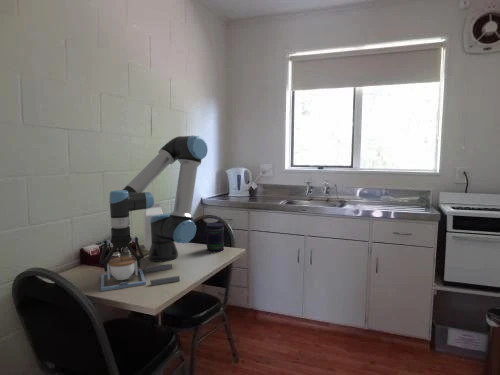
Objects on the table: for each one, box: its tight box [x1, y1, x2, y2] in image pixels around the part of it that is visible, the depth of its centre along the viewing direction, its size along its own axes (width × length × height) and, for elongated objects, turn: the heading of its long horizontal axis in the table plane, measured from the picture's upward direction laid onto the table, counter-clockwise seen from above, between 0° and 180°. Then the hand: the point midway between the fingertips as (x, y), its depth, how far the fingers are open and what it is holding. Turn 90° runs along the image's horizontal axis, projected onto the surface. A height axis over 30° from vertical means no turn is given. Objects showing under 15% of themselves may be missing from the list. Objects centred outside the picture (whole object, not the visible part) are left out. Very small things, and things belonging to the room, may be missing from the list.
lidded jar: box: [108, 255, 136, 281], centre depth 147 cm, size 11×11×9 cm
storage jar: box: [205, 221, 225, 253], centre depth 192 cm, size 10×10×15 cm
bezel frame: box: [100, 268, 147, 292], centre depth 147 cm, size 17×17×2 cm
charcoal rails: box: [145, 263, 181, 286], centre depth 153 cm, size 12×18×2 cm, turn 23°
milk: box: [143, 201, 164, 250], centre depth 201 cm, size 12×12×26 cm
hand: (122, 276), depth 147 cm, fingers closed on lidded jar, 11 cm apart
